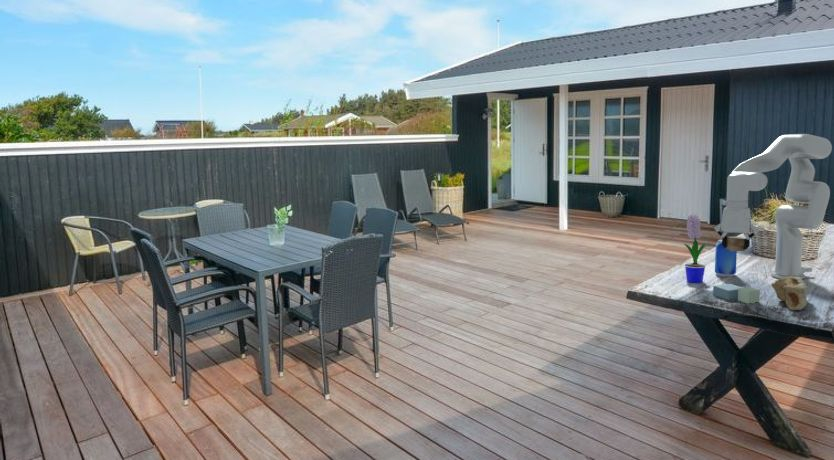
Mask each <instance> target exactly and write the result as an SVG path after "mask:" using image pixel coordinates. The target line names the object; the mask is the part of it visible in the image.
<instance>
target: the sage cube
mask: <svg viewBox="0 0 834 460" xmlns="http://www.w3.org/2000/svg"><path fill="white" fill-rule="evenodd" d="M760 291H761V289H758V288H755V287H751V286H746V287H742V288H738V299H737V301H738V302H740V301H741V303H744V302H745V303H744V304H747V303H748V304H747V305H750V304H749V303H752V304H756V303H755V302H759V303H760V297H761V296H760V295H761V294H760V293H761V292H760Z"/></svg>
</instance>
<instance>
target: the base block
mask: <svg viewBox="0 0 834 460" xmlns="http://www.w3.org/2000/svg"><path fill="white" fill-rule="evenodd" d="M738 288H743V287H742V286H739V285H735V284H733V283H724V284H717V285H713V287H712V289H713V290H712V295H713V296H715V297H719V298H721V299H724V298H725V299H724V300H727V299H728V300H727V301H730V300H729V299H732V300H738V299H737V298H738Z"/></svg>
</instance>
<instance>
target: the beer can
mask: <svg viewBox="0 0 834 460" xmlns="http://www.w3.org/2000/svg"><path fill="white" fill-rule="evenodd" d="M714 253H715V256H714V273H715V274H716V275H717V276H719V277H724V278H725V277H726V278H729V277H734V276H735V275H736V273H737V260H738V259H737V256H738V255H737V254H738V251H730V250H728V249H726V247H725V248H723V245H722V238H720V239H717V242H716V244H715V252H714Z"/></svg>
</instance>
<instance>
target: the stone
mask: <svg viewBox="0 0 834 460" xmlns="http://www.w3.org/2000/svg"><path fill="white" fill-rule="evenodd" d="M771 287H772V289H773V290H774V291H775V294H776V297H777V298H778V299H779V300H780V301H782V302H784V303H785V304H786V306H787V308H788V309H789V310H790V311H801V310H803V309H804V308H805V307H806V306H807V305H808V300H807V297H808V287H807V284H806V282H805V281H804V280H803V279H801V278H800V277H794V276H792V277H781V278H777V280H775V281H774V282H773V283H771Z"/></svg>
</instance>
